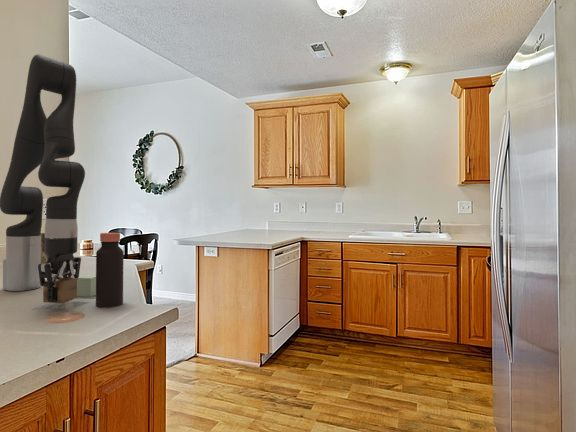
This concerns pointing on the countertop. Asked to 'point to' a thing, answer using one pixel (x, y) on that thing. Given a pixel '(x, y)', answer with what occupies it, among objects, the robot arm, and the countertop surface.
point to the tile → (60, 306)
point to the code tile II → (87, 297)
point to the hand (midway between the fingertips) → (60, 298)
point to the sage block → (86, 286)
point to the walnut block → (63, 290)
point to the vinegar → (109, 271)
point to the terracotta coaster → (65, 317)
